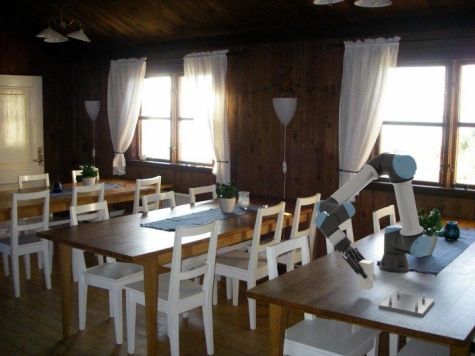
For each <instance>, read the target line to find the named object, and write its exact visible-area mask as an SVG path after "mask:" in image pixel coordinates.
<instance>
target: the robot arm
mask: <svg viewBox="0 0 475 356" xmlns="http://www.w3.org/2000/svg"><path fill="white" fill-rule="evenodd" d="M417 165H418V164H417V161H416V160H415V158H414V157H413V156H412V155H410V154H407V153H402V152H388V151H386V152H382V153H379V154H377V155H376V156H374V157H372V158H371V159H370V160H368V161H367V162H366V163H364V165H363V168H362V169H361V170H360V171H358V172H356V174H355V175H354V176H353V177H351V178H350V179H349V180H348V181H346V182H345V183H344V184H343V185H342V186H341V187H340V188H338V189H337V190H336V191H335V192H334V193H333V194H331V195H330V196H329V197H328V198H327V199H326V200H325V199H322V200H319V201H318V202H317V203H316V204H315V211H316V213H317V215H316V216H315V217H314V219H313V223H314V225H316V228H318V229H319V231H320V232H321V233H322V235H323V236H325V238H326V239H327V240H328V241H329V244H331V245H332V246H334V248H335V250H336V251H337V252H338V253H342V254H343V255H342V256H341V258H342V259H343V260H344V261H345V262H346V263H347V264H348V265H349V267H350V268H351V269H352V270H353V272H354V273H355V274H356V275H358V276H359V274H360V275H361V276H362V277H363V278H364V279H365V281H366V282H367V283H368V284H369V285H371V284H372V283H373V284H374V283H375V282H376V281H377V280H379V277H378V275H377V274H376V273H375V272H374V273H373V279H372V278H371V277H370V276H369V275H368V273H367V272H366V271H365V270H364V271H363V269H362V267H361V266H360V264H359V262H360V261H362V260H367V259H366V258H365V257H364V255H363V254H362V253H361V252H360V251H359V249H358V248H357V247H355V248H354V247H353V246H352V245H351V244H352V240H351V239H350V238H349V237H348V236H347V235H346V233H345V232H344V231H343V230H342V229H341V228H340V227H339V226H341V225H343V224H344V223H346V221H348V220H349V219H351V218H352V217H353V216H354V215H355V213H356V209H355V207H354V205H353V204H352V203H351V202H350V200H351V199H353V198H354V197H355V196H356V195H357V194H358V193H360V192H361V191H362V190H363V189H364V188H365V187H366V186H367V185H369V184H370V183H371V182H373V180H378V179H379V178H380V177H382V176H388V179H389V180H388V181H389V184H391V185H393V188H394V193H395V194H394V195H395V200H396V203H397V210H398V214H399V218H400V220H399V221H400V223H401V225H388V226H386V227H385V228H384V233H383V255H382V257H381V260H380V263H379V268H380V269H381V270H384V271H386V272H392V273H394V272H395V273H405V272H408V271H409V270H410V263H409V260H408V255H410V256H412V257H417V258H421V257H424V256H426V255H427V254H428V253H429V251H430V250H431V246H432V240H431V238H430V237H429V236H428V235H426V234H425V230H424V227H423V226H421V225H420V221H419V215H418V210H417V205H416V200H415V199H416V198H415V194H414V190H413V185H412V184H413V183H412V181H413V180H414V176H415V175H416V171H417V170H418V166H417Z"/></svg>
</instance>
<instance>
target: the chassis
mask: <svg viewBox="0 0 475 356" xmlns="http://www.w3.org/2000/svg"><path fill="white" fill-rule="evenodd" d="M400 292H401V290H400V289H399V288H398V289H396V292H395V291H393V292H392V293H390V295H389V296H387V297H386V298H385V299H384V300H383V301H382V302H380V304H378V309H380V310H386V311H389V312H395V313H399V314H405V315H409V316H414V317H419V318H423V317H424V316H425V314H426V313H428V311H429V310H430V309H431V308H432V306H434V304H435V299H433V298H429V297H428V298H427V297H426V294H425V293H422V296H417V295H411V294H406V293H400Z"/></svg>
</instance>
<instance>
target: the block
mask: <svg viewBox="0 0 475 356" xmlns="http://www.w3.org/2000/svg"><path fill="white" fill-rule="evenodd" d="M359 264H360V266H361V267H362V269H363V271H364V270H365V271H366V272H367V273H368V275H369V276H370V277H371V278H372V279H373V273H375V272H374V265H375V263H374V260H369V259H366V260H362V261H360V262H359ZM373 287H374V282H373V283H372V284H371V285H369V284H368V283H367V282H366V281H365V279H364V278H363V277H362V276H361V275H360V274H359V275H358V289H362V290H368V291H370V290H371V289H373Z"/></svg>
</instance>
